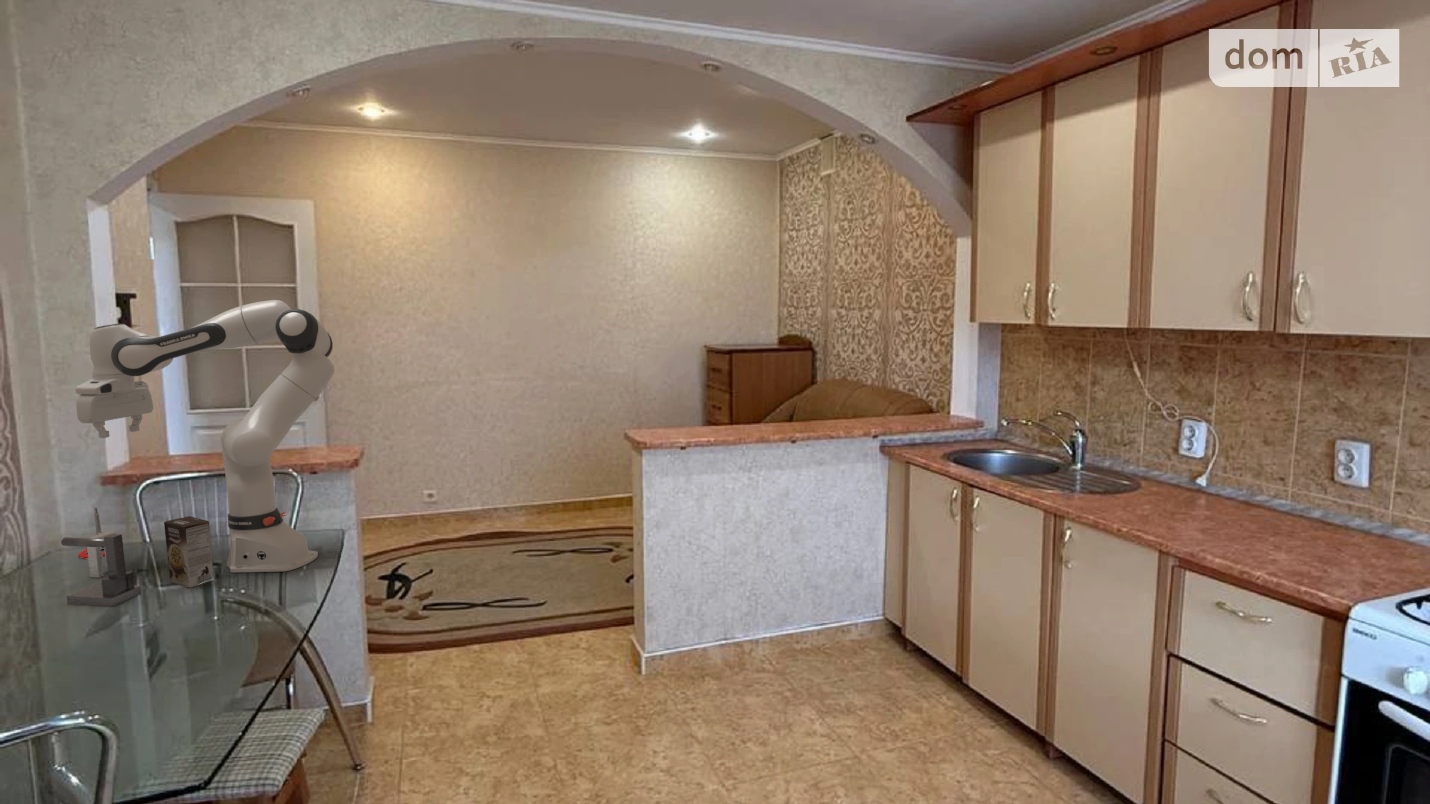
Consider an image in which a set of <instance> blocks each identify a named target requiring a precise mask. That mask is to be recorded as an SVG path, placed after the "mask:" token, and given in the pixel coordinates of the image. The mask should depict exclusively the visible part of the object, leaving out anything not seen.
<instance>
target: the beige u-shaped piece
mask: <svg viewBox="0 0 1430 804" xmlns="http://www.w3.org/2000/svg"><path fill="white" fill-rule="evenodd" d="M111 534H116V531H104V532H102V533H101V534H98V535H96V534H95V535H93V536H90V537H88V538H91V539H104V537H106V536H108V535H111ZM103 551H104V553H105V557H104V558H105V566H106V569H107V561H106V552H105V548H104V550H103ZM87 552H88V554H87V555H88V559H87V560H88V567H89V569H88V570H89V577H90V578H91V577H95V579H97V578H98V579H99V578H102V577H101V576H103V577H104V572H103V570H104V569H103V561H102V557H101V554H102V553H101V550H100V547H87Z"/></svg>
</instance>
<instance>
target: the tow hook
mask: <svg viewBox="0 0 1430 804" xmlns="http://www.w3.org/2000/svg"><path fill="white" fill-rule="evenodd" d="M98 510H99V509H98V506H94V507H93V511H94V512H93V513H94V514H93V517H94V525H95V535H98V534H101V533H103V531H102V526H101V524H102V523H101V517H100V513H99V511H98ZM86 552H87V547H85V549H84V550H82V551H80V552H79V553H78V555H77V556H78V558H79V557H83V558H88V554H85V553H86ZM101 555H105V552H102V553H101Z"/></svg>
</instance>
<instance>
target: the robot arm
mask: <svg viewBox="0 0 1430 804" xmlns="http://www.w3.org/2000/svg"><path fill="white" fill-rule="evenodd" d="M277 339H278V340H279V341H280V342H281V343H282V344H283V346H284V347H285V348H286V351H288V352H289V353H291V354H292V358H291V362H290V363H289V364H288V366H287V367H286V368H285V369H283V371H282V372H280V374H279V375H278V376H277V377H276V378H275V379H274V380H273V381H272V382H271V384H270V385H269V386H268V387H267V388H266V389H265V390H264V391H263V393H261V395H259V396H258V398H257V400H256V401H255V403H254V405H252V407H251V408H250V410H249V411H248V412H247V413H246V415H245V416H244V417H243V418H240V419H237V420H234V421H231V422H230V423H228V425H226V426H225V428H224V429H223V430H222V433H221V436H220V442H221V443H220V444H221V451H222V452H221V453H222V459H223V467H224V474H225V475H224V476H225V481H226V482H225V484H226V489H227V503H228V512H229V513H227V524H228V525H227V526H228V528H229V531H230V538H229V539H230V540H229V551H228V552H229V553H228V558H227V562H226V567H227V568H229V573H234V574H235V573H263V572H267V573H268V572H269V573H270V572H271V573H273V572H277V573H278V572H289V571H292V570H295V569H299V568H301V567H304V566H306V565H307V564H309V563H312V562H313V561H314V560H316V559H317V558H318V556H319V554H318V551H317V550H311V549H310V550H309V547H308V542H307V539H306V536H305V535H304V534H302V533H300V532H299V531H297V530H296V529H294V528H293V527H291V526H290V525H289V524H287V523H286V522H285V521H284V519H283V518H284V517H286V516H287V514H286V513H287V512H286V511H282V512H280V510H279V509H278V508H277V505H276V504H277V503H276V491H275V480H274V477H273V476H274V474H273V470H272V469H273V468H272V462H271V456H272V454H273V453H274V452H275V450H277V448H278V446H279V445H280V444H281V443H282V441H283V439H284V438H285V437H286V436H287V434H288V433H289V431H290V430H291V428H292V427H293V425H295V423H296V422H297V421H298V419H299V418H300V417H301V416H302V415H303V414H304V413H305V411H307V409H309V407H310V406H311V405H312V404H313V403H314V401H315V400H317V398H318V397H319V396H320V394H322V392H323V391H324V390H325V388H326V387H327V385H328V384H329V383H330V380H331V379H332V377H333V375H334V373H335V366H334V364H333V362H332V361H331V359H329V357H330V355H331V353H332V351H333V346H334V345H333V339H332V337H331V335H330V333H329V332H328V331H327V330H326V328H325V327H324V325H323V324H322V322H320V321H319V320H318V319H317V318H316V317H315V316H314V315H313V313H310V312H308V311H306V310H303V309H299V308H291V307H290V306H289V305H288V304H287V303H286V302H284V301H282V300H278V299H270V300H261V301H256V302H251V303H247V304H243V305H238V306H236V307H233V308H231V309H228V310H226V311H223V312H222V313H219V314H217V315H216V316H213V317H211V318H209V319H207V320H205V321H203V322H202V323H199V324H197V325H194V326H192V327H190V328H186V329H183V330H179V331H175V332H172V333H168V334H165V335H161V336H156V335H151V334H147V333H143V332H140V331H138V330H135V329H133V328H131V327H129V326H128V325H126V324H125V323H112V324H106V325H101V326H97V327H95V328H93V329H92V330H91V331H90V336H89V353H90V354H89V355H90V359H91V363H92V365H93V368H92V369H93V370H92V378H90V379H88V380H87V381H85V382H82V383H81V384H78V385H77V386H76V387H75V393H76V394H77V395H78V396H77V398H76V402H75V403H76V416H77V419H78V421H79V422H80V423H82V424H92V425H93V427H94V428H95V430H96V431H97V433H98V437H99V439H106V438H109V437H110V431H109V430H107V429H106V428H105V425H106V423H105V422H106V421H107V422H108V421H113V420H117V419H123V418H131V419H132V420H131V421H132V422H131V424H130V425H128V428H129V430H128V431H129V432H131V433H135V432H139V431H140V430H141V429H140V424H141V421H142V419H143V415H146V414H150V413H152V412H153V411H154V403H153V402H154V401H153V398H152V394H151V392H150V389H149V384H147V383H146V382H144V381H143V380H138V381H136V380H135V377H141V376H143V375H146V374H149V373H152V372H156V371H160V370H162V369H165V368H166V367H168V366H169V365H170V364H171V363H172V362H173V359H175V358H179V357H183V356H185V355H190V354H192V353H193V354H194V353H196V352H202V351H207V350H208V351H209V350H218V349H219V350H220V349H223V350H224V349H235V348H241V347H249V346H252V345H257V344H259V343H263V342H266V341H270V340H277Z"/></svg>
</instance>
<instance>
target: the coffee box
mask: <svg viewBox="0 0 1430 804" xmlns="http://www.w3.org/2000/svg"><path fill="white" fill-rule="evenodd" d="M163 527H164V534H165V535H164V536H165V544H166V553H167V561H168V562H167V565H168V566H167V567H168V573H169V574H168V576H169V582H170V583H174V584H175V585H179V586H182V587H185V586H186V587H185V588H188V587H191V588H194V587H193V586H195V587H197V585H198V584H200V583H202V582H204V581H205V580H207V579H209V578H210V577H212V576H214V567H213V565H214V564H213V553H212V541H211V531H210V530H211V529H210V528H211V527H210V520H206V519H202V518H199V517H195V516H190V515H188V516H185V517H179V518H174V519H170V520H165V521H164V522H163ZM198 586H199V585H198Z"/></svg>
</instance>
